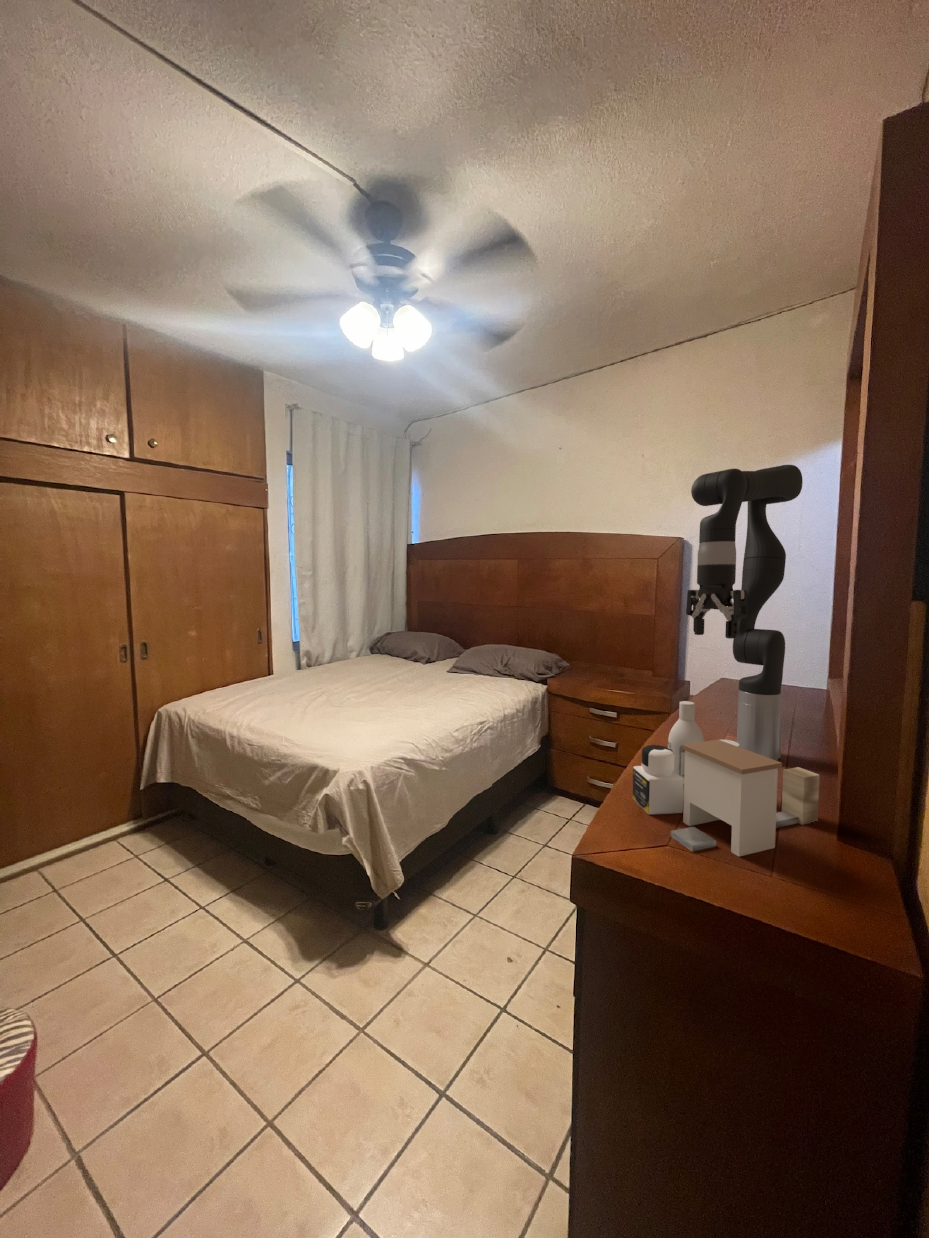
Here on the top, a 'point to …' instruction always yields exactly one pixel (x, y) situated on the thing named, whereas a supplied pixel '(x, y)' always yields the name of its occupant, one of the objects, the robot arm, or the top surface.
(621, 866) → the top surface
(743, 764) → the cabinet
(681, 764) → the bath foam
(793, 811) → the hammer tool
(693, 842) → the plate
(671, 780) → the medicine bottle
